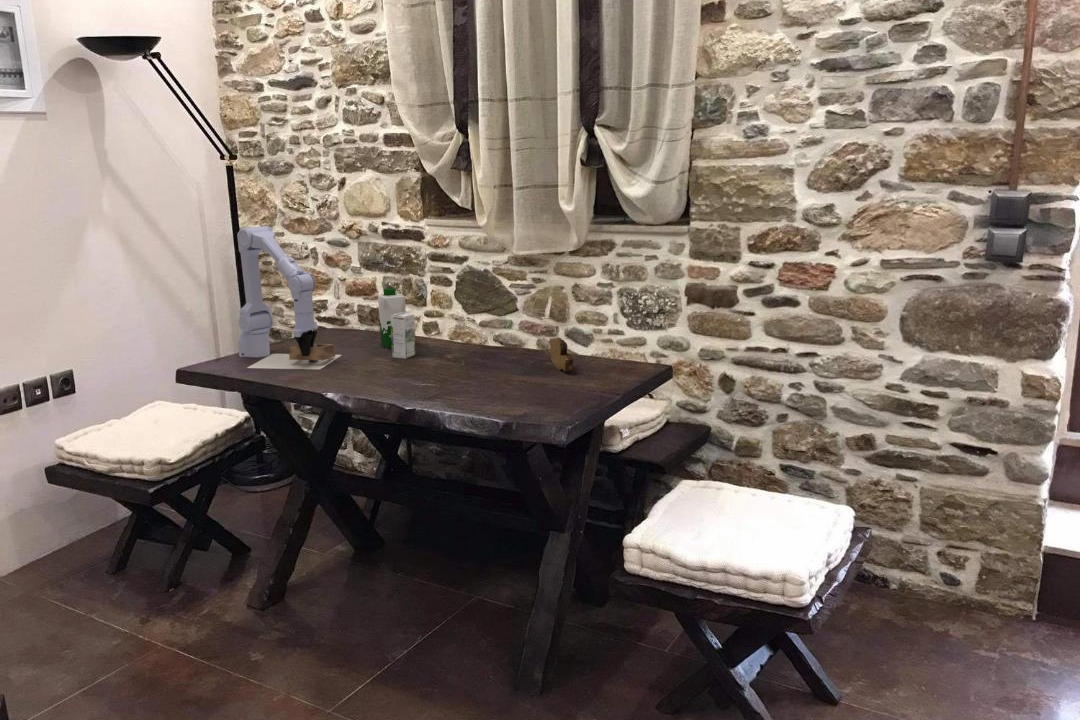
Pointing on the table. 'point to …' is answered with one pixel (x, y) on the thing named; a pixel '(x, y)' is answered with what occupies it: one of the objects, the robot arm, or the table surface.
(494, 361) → the table surface
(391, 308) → the milk carton
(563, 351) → the wooden carving
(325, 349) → the square collar
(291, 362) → the post board
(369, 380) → the table surface
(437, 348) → the table surface
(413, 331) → the syrup box
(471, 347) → the table surface
